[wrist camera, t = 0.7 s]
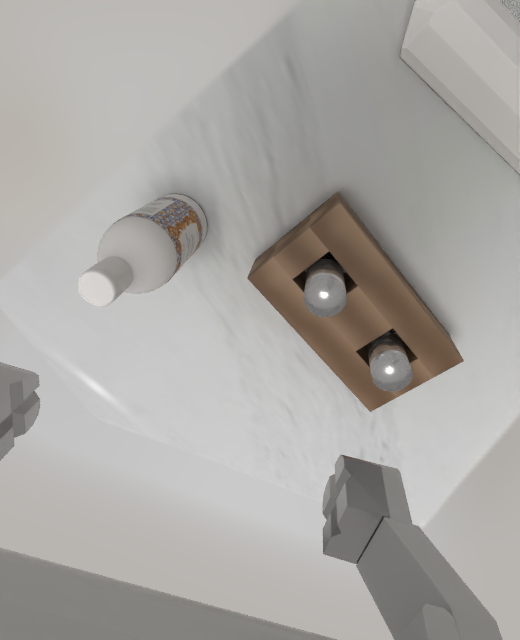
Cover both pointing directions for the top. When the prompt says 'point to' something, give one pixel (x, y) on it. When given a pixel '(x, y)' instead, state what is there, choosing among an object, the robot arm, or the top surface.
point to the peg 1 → (325, 288)
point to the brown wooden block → (353, 302)
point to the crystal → (471, 65)
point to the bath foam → (144, 249)
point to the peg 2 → (389, 363)
